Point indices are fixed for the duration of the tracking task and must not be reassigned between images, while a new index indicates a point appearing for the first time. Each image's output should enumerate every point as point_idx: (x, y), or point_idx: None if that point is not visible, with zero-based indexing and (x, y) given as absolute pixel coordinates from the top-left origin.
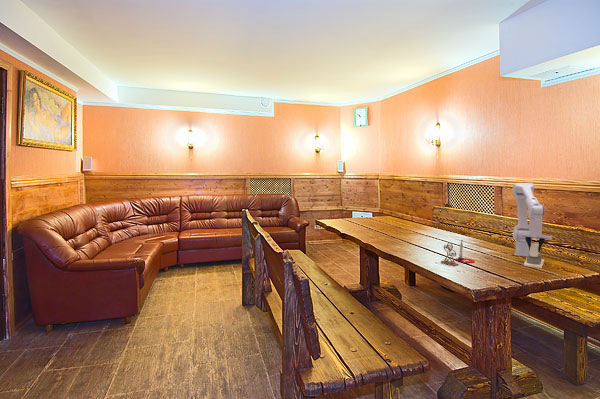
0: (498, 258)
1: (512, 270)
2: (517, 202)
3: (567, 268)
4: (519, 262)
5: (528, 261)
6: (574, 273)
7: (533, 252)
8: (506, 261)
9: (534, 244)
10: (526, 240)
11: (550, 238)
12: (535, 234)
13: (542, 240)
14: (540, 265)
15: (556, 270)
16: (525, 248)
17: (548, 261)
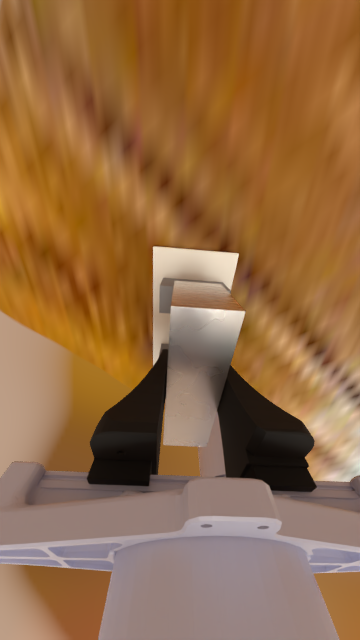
0: (321, 337)
1: (341, 36)
2: None
3: (64, 305)
4: (245, 310)
5: (216, 283)
6: (10, 217)
7: (203, 291)
8: (301, 300)
9: (194, 418)
10: (292, 418)
11: (3, 494)
12: (223, 603)
13: (112, 429)
14: (161, 264)
15: (91, 236)
16: (217, 435)
17: (140, 375)
